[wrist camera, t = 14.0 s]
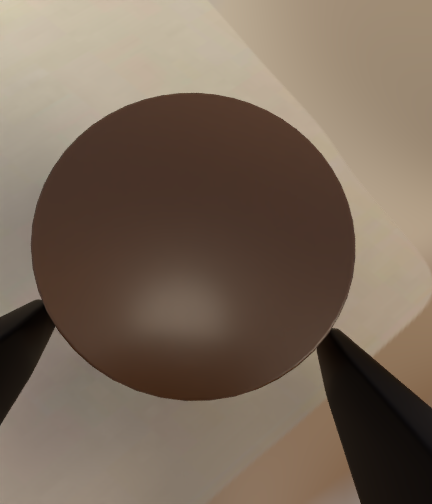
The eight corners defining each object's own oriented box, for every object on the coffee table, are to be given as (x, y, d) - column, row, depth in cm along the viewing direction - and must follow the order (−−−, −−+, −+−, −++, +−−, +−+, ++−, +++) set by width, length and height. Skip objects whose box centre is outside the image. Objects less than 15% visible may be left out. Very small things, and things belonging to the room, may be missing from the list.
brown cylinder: (232, 346, 14) (345, 437, 4) (136, 326, 14) (-37, 357, 3) (248, 255, 16) (364, 130, 5) (162, 235, 16) (97, 62, 5)
